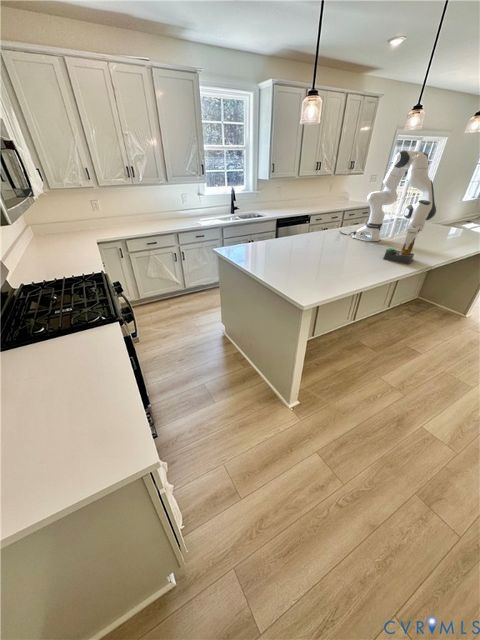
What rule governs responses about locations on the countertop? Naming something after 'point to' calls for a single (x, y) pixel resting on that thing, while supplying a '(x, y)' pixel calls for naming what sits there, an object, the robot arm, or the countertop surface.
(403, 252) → the condiment
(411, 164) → the robot arm
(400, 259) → the control panel
